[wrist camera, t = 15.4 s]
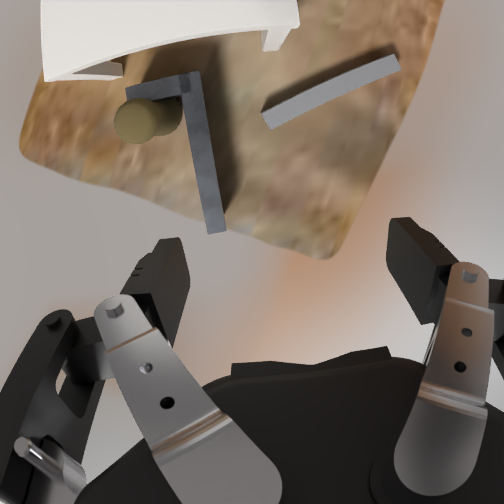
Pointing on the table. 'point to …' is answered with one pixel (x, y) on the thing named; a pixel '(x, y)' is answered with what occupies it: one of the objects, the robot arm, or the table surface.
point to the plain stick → (330, 90)
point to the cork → (147, 119)
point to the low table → (146, 29)
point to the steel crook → (192, 137)
